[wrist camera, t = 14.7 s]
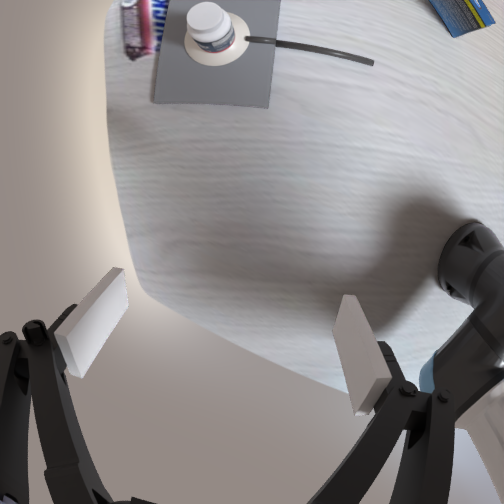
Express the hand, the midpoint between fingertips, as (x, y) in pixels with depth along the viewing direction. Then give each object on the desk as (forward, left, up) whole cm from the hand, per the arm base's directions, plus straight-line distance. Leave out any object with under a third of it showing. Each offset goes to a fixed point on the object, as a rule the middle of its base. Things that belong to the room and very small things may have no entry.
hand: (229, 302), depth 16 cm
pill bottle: (+7, -23, -25) cm, 35 cm away
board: (0, -23, -27) cm, 35 cm away
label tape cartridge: (-29, -39, -27) cm, 56 cm away
